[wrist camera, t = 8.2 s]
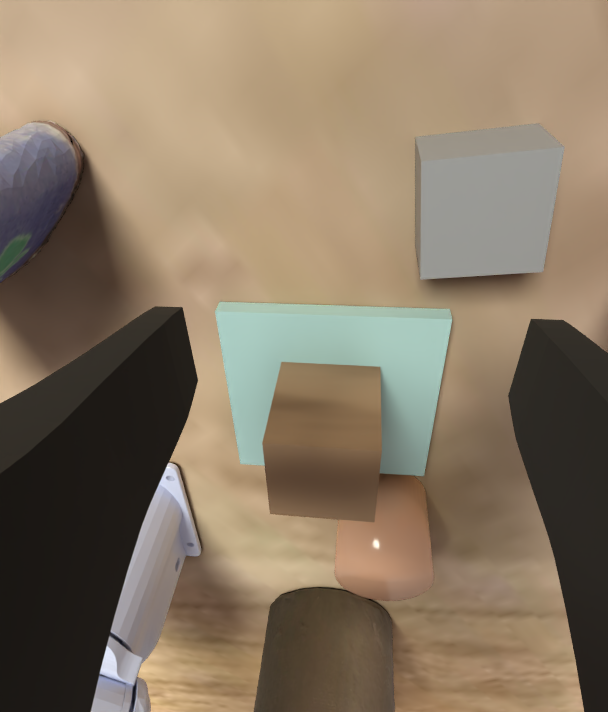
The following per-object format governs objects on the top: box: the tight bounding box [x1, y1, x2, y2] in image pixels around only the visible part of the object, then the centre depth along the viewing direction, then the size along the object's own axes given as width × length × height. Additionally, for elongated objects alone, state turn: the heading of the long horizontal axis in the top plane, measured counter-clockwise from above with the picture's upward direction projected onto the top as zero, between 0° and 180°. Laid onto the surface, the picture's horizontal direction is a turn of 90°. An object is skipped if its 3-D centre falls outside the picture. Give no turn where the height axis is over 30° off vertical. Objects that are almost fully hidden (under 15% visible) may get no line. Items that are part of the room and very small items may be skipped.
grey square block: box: [415, 123, 564, 280], centre depth 17 cm, size 4×4×3 cm
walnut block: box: [262, 362, 382, 522], centre depth 22 cm, size 4×4×5 cm
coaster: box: [215, 302, 452, 476], centre depth 24 cm, size 10×10×1 cm
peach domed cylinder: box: [335, 473, 434, 601], centre depth 27 cm, size 5×5×5 cm
